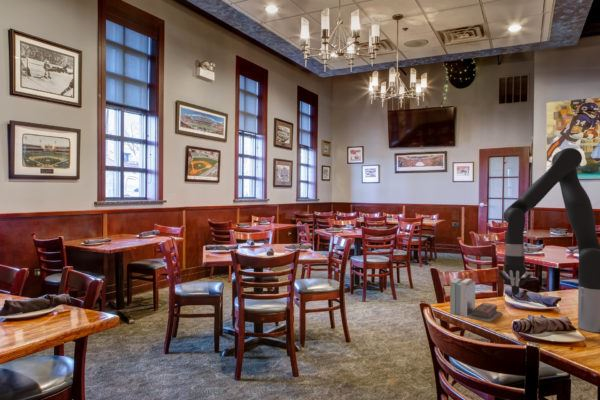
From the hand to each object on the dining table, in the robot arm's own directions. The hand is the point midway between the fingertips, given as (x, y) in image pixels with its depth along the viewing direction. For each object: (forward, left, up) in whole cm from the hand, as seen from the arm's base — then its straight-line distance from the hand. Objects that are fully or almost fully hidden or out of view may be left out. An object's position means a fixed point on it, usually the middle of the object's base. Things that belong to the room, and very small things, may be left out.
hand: (515, 294), depth 177 cm
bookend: (+22, -1, -12) cm, 25 cm away
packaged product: (+13, -3, -13) cm, 18 cm away
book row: (+23, -1, -12) cm, 26 cm away
